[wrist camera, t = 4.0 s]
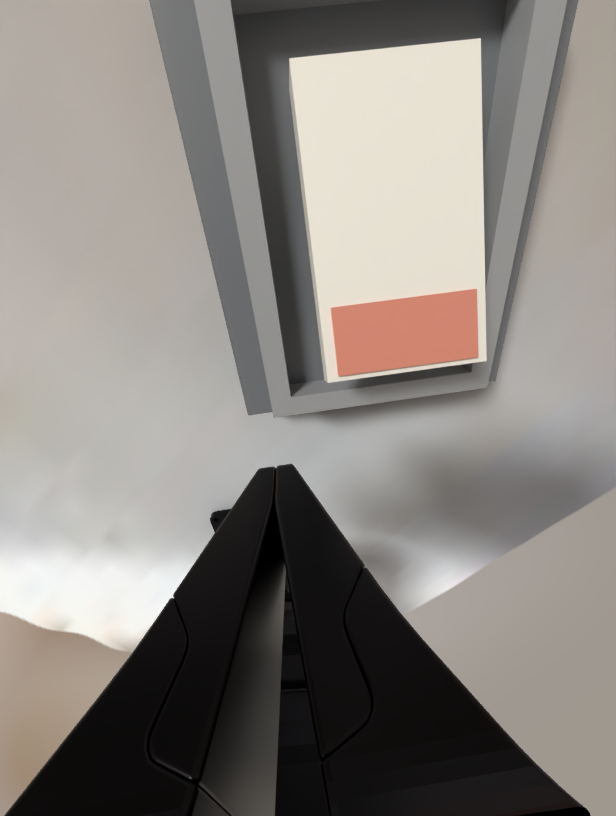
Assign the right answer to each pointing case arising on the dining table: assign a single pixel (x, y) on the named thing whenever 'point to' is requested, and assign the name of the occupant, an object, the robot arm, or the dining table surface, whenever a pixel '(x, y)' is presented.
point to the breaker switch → (393, 205)
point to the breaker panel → (280, 181)
